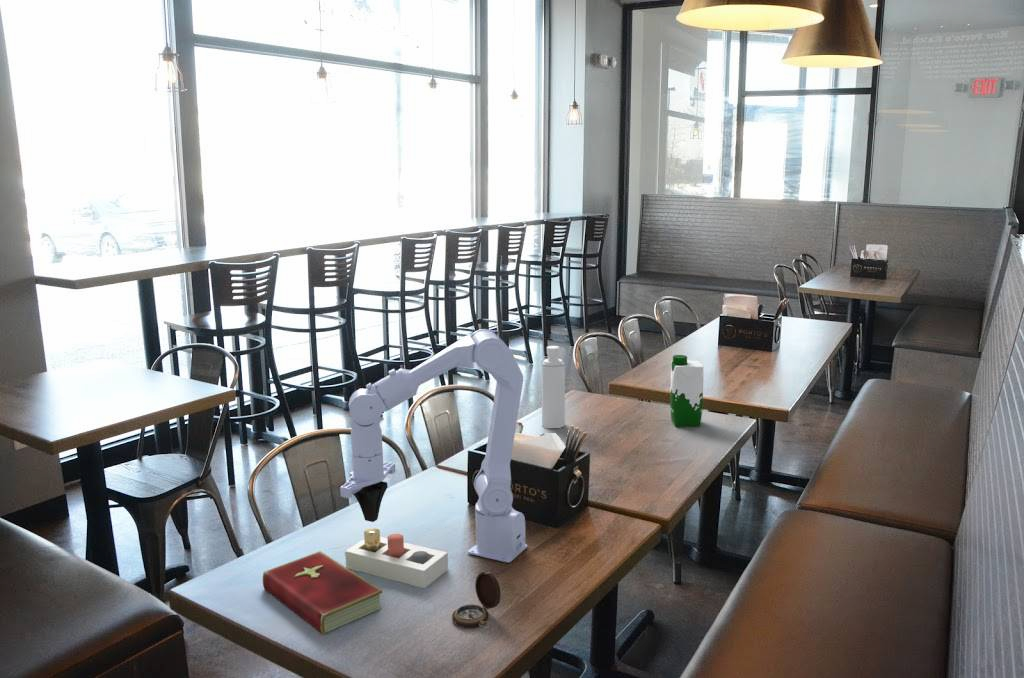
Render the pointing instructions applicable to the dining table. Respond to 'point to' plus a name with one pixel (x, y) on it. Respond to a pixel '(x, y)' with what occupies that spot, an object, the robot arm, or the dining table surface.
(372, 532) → the brass plug
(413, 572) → the socket board
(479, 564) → the dining table surface
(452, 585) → the dining table surface
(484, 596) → the compass
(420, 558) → the gray plug
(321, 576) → the hardcover book
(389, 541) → the red plug
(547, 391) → the white bottle
